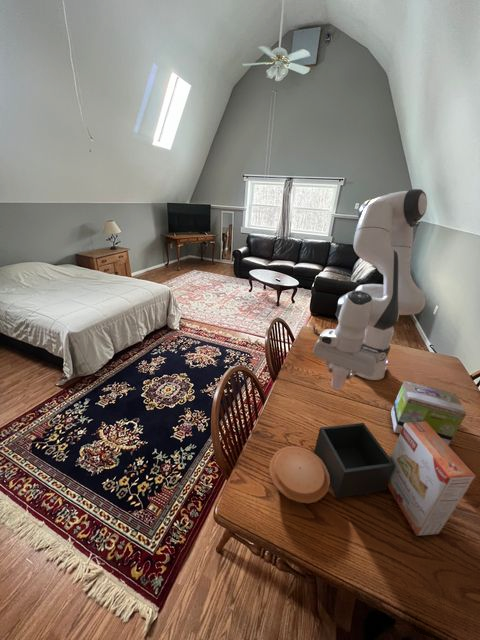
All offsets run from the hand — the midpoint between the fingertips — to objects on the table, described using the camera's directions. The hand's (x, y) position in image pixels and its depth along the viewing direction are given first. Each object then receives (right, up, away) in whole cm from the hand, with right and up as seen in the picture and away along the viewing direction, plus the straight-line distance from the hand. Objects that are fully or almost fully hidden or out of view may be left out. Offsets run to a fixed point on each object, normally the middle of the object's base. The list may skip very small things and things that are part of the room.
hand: (339, 374), depth 93 cm
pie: (-19, -24, -22) cm, 38 cm away
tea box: (+24, -17, -4) cm, 30 cm away
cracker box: (+7, -27, -26) cm, 38 cm away
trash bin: (-5, -23, -19) cm, 30 cm away
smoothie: (0, -5, +2) cm, 5 cm away
